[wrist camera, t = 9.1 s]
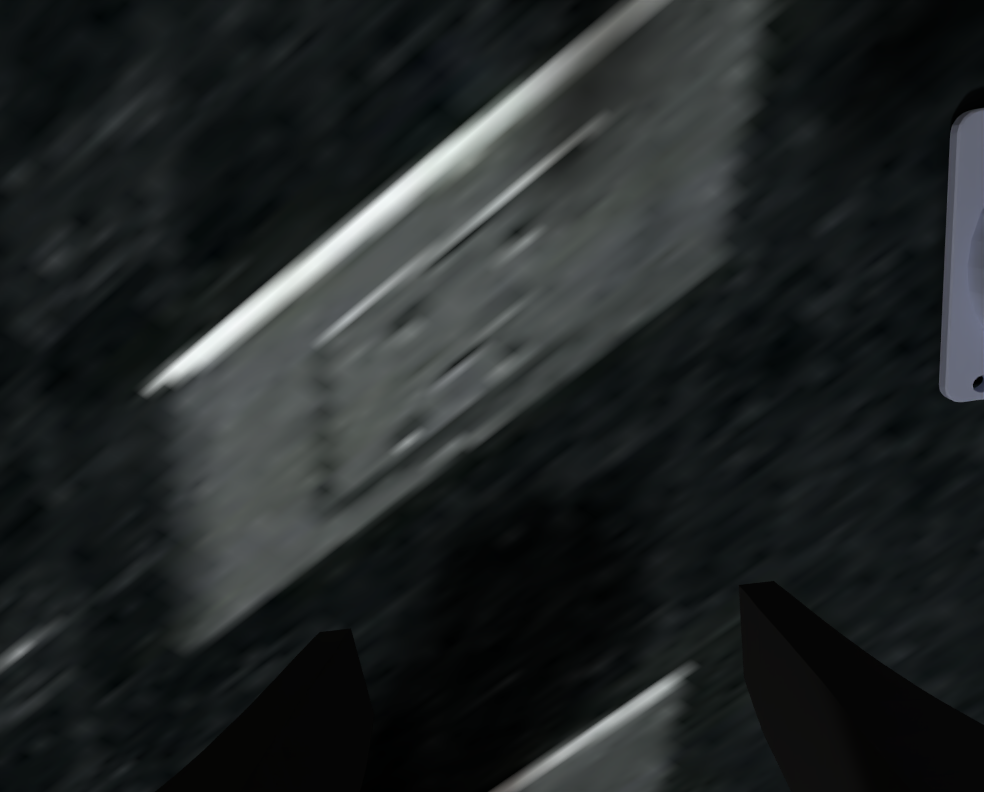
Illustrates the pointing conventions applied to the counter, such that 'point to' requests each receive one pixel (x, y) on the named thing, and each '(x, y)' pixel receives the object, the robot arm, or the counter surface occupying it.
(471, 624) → the counter surface
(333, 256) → the counter surface
